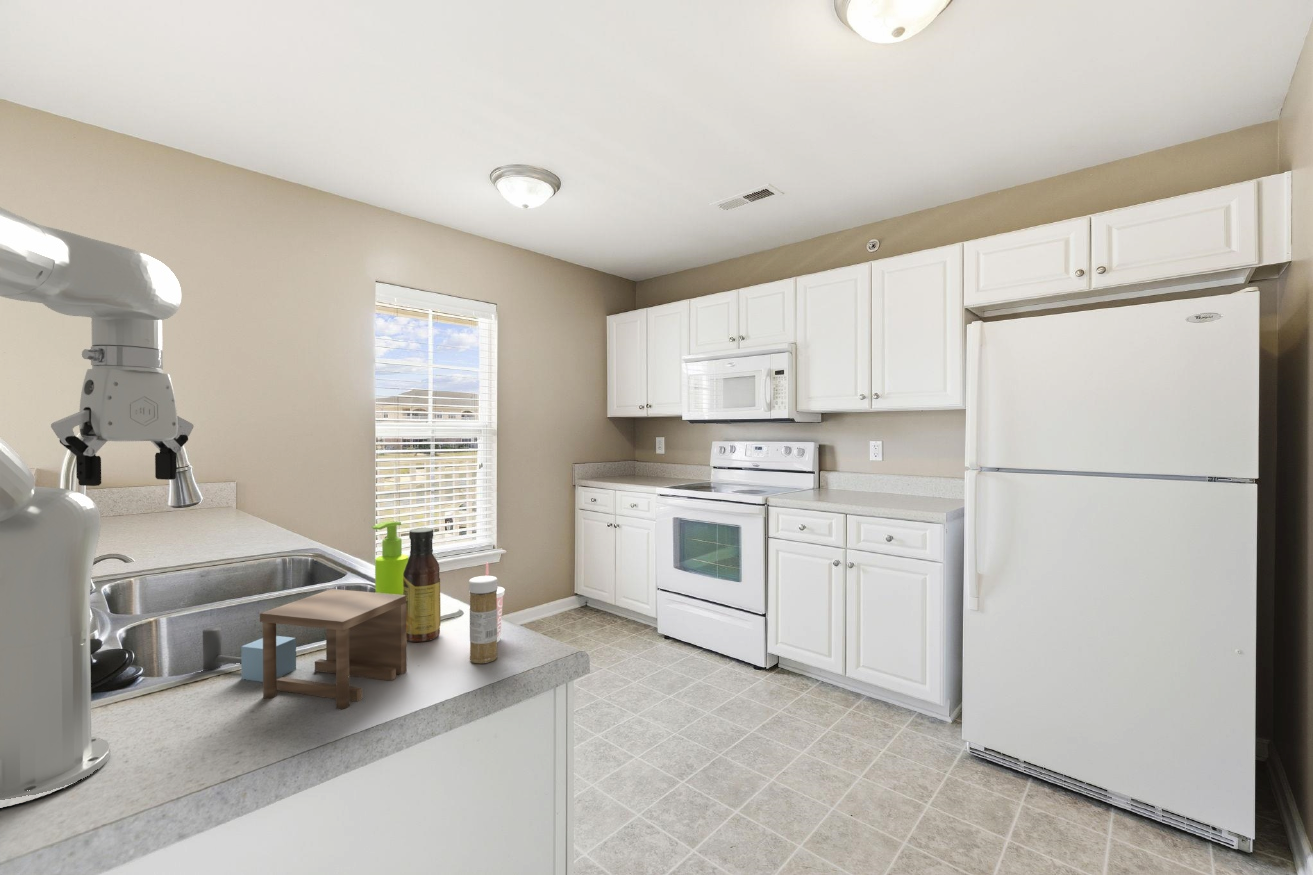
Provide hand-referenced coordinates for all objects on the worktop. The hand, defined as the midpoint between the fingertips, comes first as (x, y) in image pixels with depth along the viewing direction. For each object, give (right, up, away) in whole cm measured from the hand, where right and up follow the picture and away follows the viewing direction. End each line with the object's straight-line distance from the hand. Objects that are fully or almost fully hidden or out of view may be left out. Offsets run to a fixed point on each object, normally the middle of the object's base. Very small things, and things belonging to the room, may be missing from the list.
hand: (129, 482), depth 84 cm
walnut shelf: (+28, -30, +4) cm, 41 cm away
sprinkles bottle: (+47, -31, +13) cm, 57 cm away
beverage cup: (+45, -30, +22) cm, 58 cm away
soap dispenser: (+24, -30, +29) cm, 48 cm away
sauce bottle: (+33, -30, +23) cm, 50 cm away
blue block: (+10, -30, +8) cm, 33 cm away
